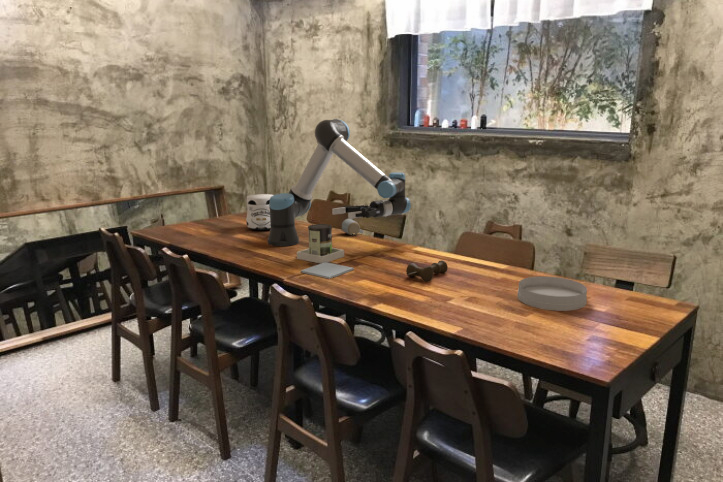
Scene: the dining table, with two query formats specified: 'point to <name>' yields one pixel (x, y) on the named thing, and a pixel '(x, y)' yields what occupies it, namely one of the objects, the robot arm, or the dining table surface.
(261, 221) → the milk container
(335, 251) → the frame
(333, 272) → the mat
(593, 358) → the dining table surface
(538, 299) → the dish
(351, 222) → the ceramic mug
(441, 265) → the kendama
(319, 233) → the coffee can
